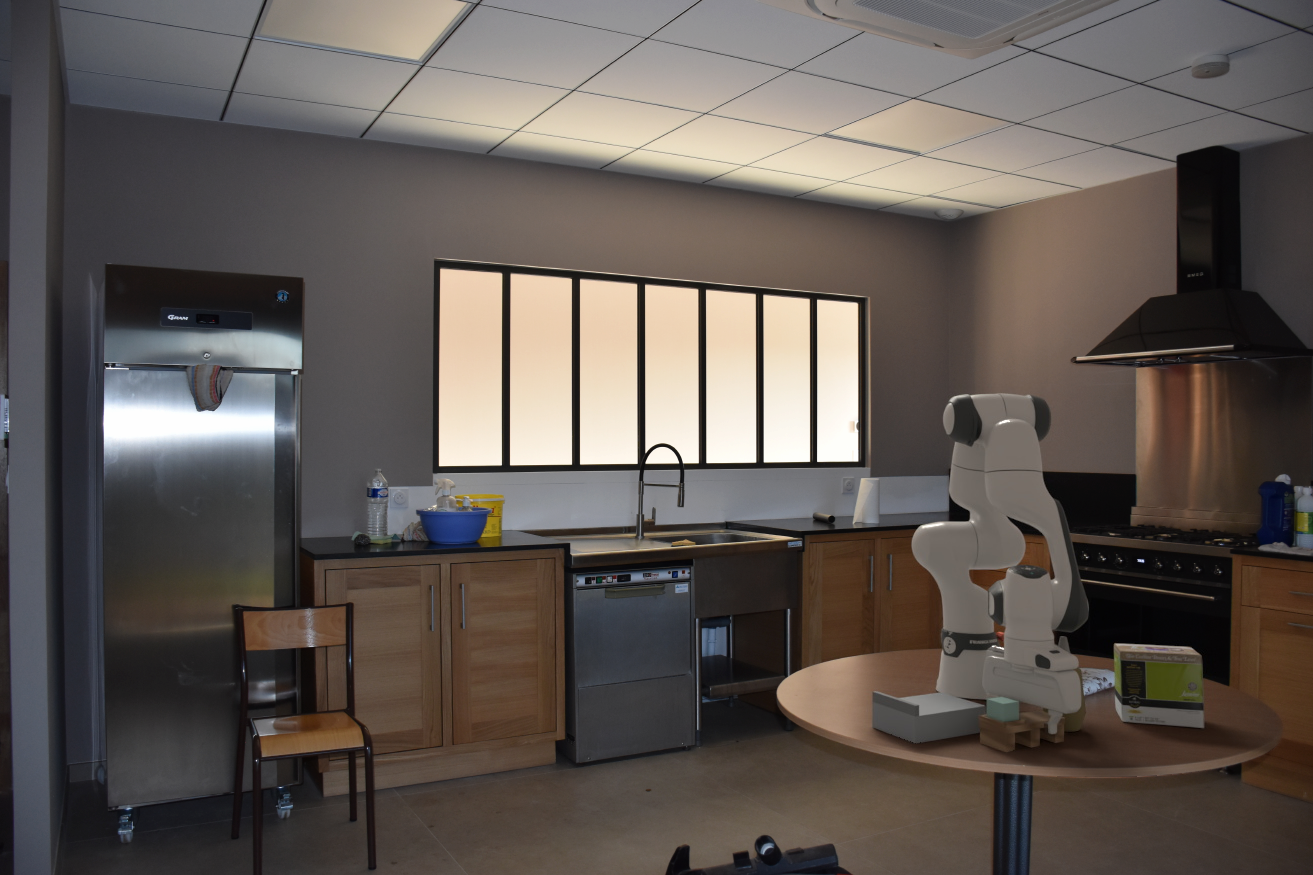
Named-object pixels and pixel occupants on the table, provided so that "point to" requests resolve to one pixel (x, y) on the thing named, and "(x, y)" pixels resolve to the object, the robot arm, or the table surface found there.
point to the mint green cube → (1003, 709)
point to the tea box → (1159, 685)
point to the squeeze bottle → (1076, 719)
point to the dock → (925, 716)
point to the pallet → (1018, 731)
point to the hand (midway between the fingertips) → (1029, 726)
